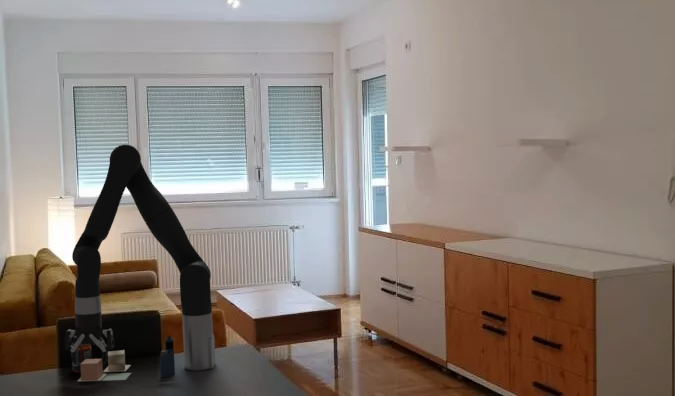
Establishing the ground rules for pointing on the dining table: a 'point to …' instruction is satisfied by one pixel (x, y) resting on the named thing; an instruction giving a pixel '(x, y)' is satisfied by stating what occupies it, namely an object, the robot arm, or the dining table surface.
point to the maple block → (116, 360)
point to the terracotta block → (91, 369)
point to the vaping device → (167, 359)
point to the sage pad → (116, 376)
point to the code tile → (94, 380)
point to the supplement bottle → (81, 355)
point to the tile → (118, 370)
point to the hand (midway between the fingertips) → (90, 363)
